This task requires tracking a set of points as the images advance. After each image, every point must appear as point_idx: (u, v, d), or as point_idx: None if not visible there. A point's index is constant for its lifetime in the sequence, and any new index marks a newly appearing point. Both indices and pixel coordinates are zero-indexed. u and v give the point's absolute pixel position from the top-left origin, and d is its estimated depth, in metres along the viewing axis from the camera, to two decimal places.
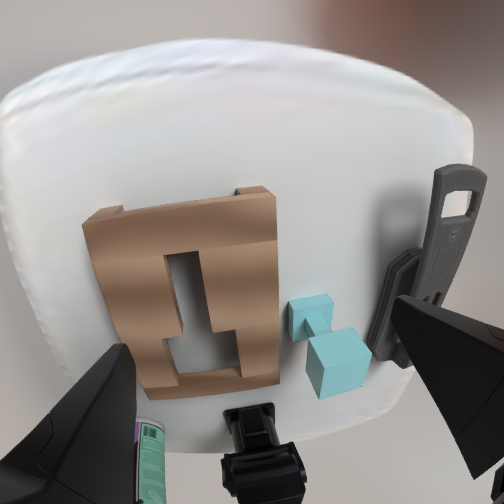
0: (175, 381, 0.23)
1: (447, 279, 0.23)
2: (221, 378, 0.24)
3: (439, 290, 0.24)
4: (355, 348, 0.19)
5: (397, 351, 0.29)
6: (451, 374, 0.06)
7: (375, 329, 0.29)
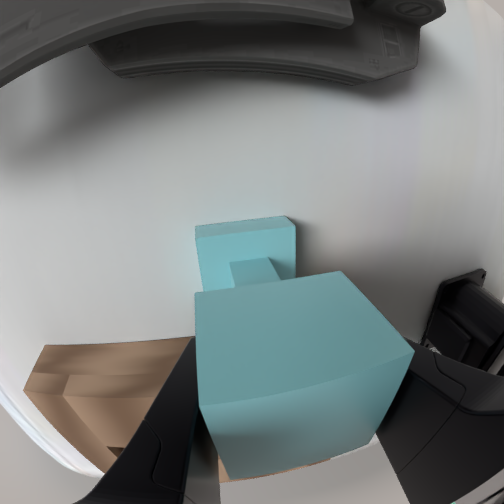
0: None
1: None
2: None
3: None
4: None
5: (393, 13, 0.07)
6: None
7: (315, 73, 0.09)
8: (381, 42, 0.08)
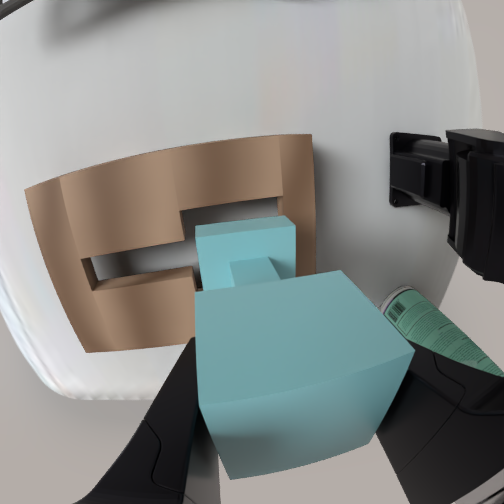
0: None
1: None
2: None
3: None
4: None
5: None
6: None
7: None
8: None
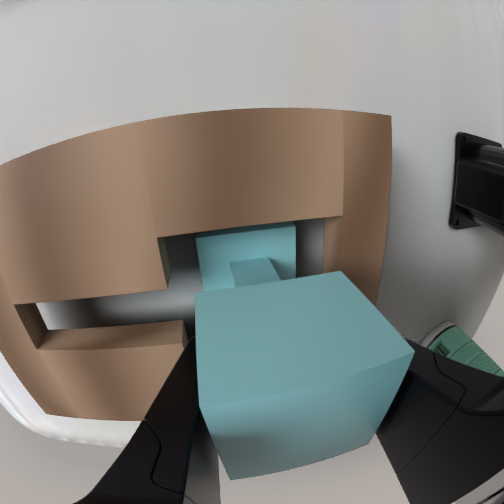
0: None
1: None
2: (335, 262, 0.10)
3: None
4: None
5: None
6: None
7: None
8: None
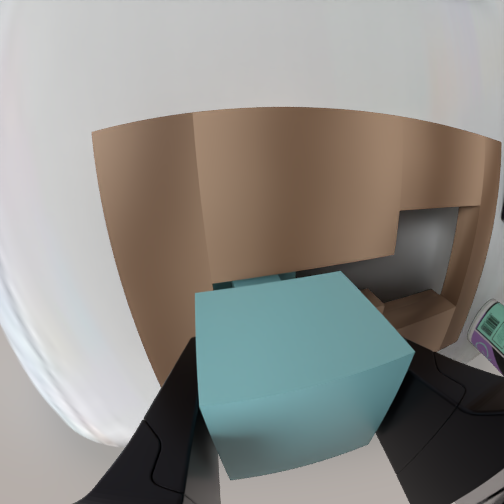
0: (448, 310, 0.12)
1: None
2: (470, 238, 0.11)
3: None
4: None
5: None
6: None
7: None
8: None
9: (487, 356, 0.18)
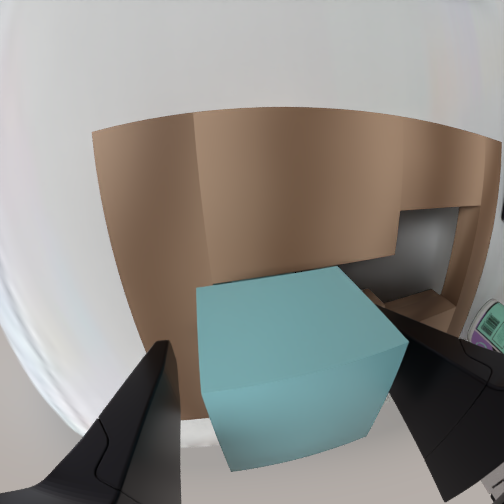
0: (449, 310, 0.12)
1: None
2: (470, 238, 0.11)
3: None
4: None
5: None
6: (419, 392, 0.06)
7: None
8: None
9: None
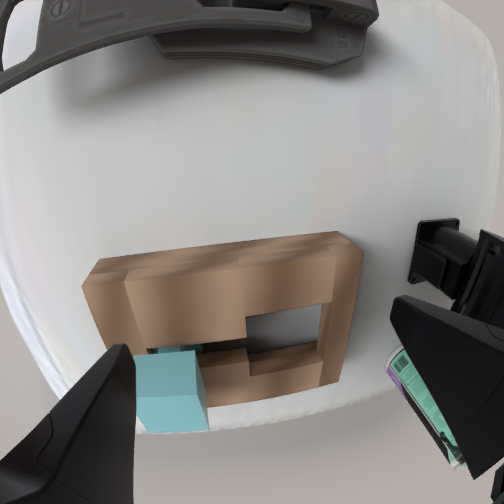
0: (315, 364, 0.21)
1: None
2: (327, 320, 0.19)
3: None
4: None
5: (344, 20, 0.12)
6: (451, 374, 0.06)
7: (290, 61, 0.14)
8: (334, 40, 0.13)
9: None
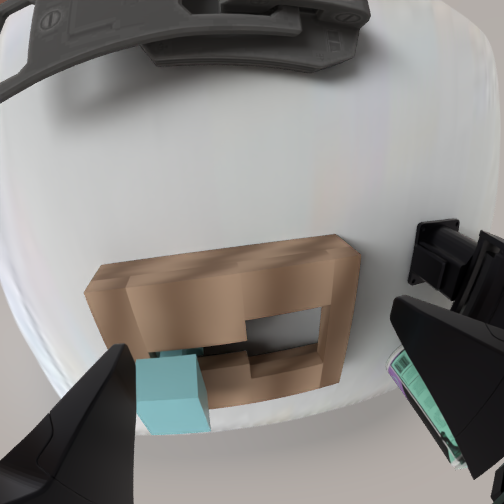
0: (315, 365, 0.21)
1: None
2: (326, 323, 0.20)
3: None
4: None
5: (335, 21, 0.12)
6: (451, 374, 0.06)
7: (282, 65, 0.15)
8: (326, 42, 0.13)
9: (400, 388, 0.27)
